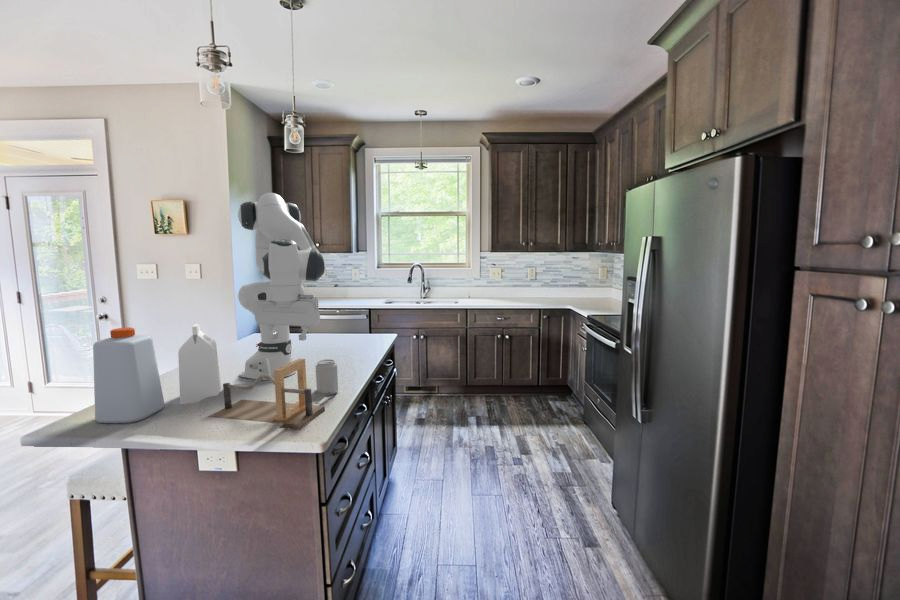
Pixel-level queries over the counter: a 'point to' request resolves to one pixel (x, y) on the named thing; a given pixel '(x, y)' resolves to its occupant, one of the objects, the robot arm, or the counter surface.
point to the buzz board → (266, 407)
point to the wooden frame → (279, 374)
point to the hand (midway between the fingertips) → (288, 339)
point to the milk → (198, 368)
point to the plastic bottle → (126, 378)
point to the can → (327, 376)
